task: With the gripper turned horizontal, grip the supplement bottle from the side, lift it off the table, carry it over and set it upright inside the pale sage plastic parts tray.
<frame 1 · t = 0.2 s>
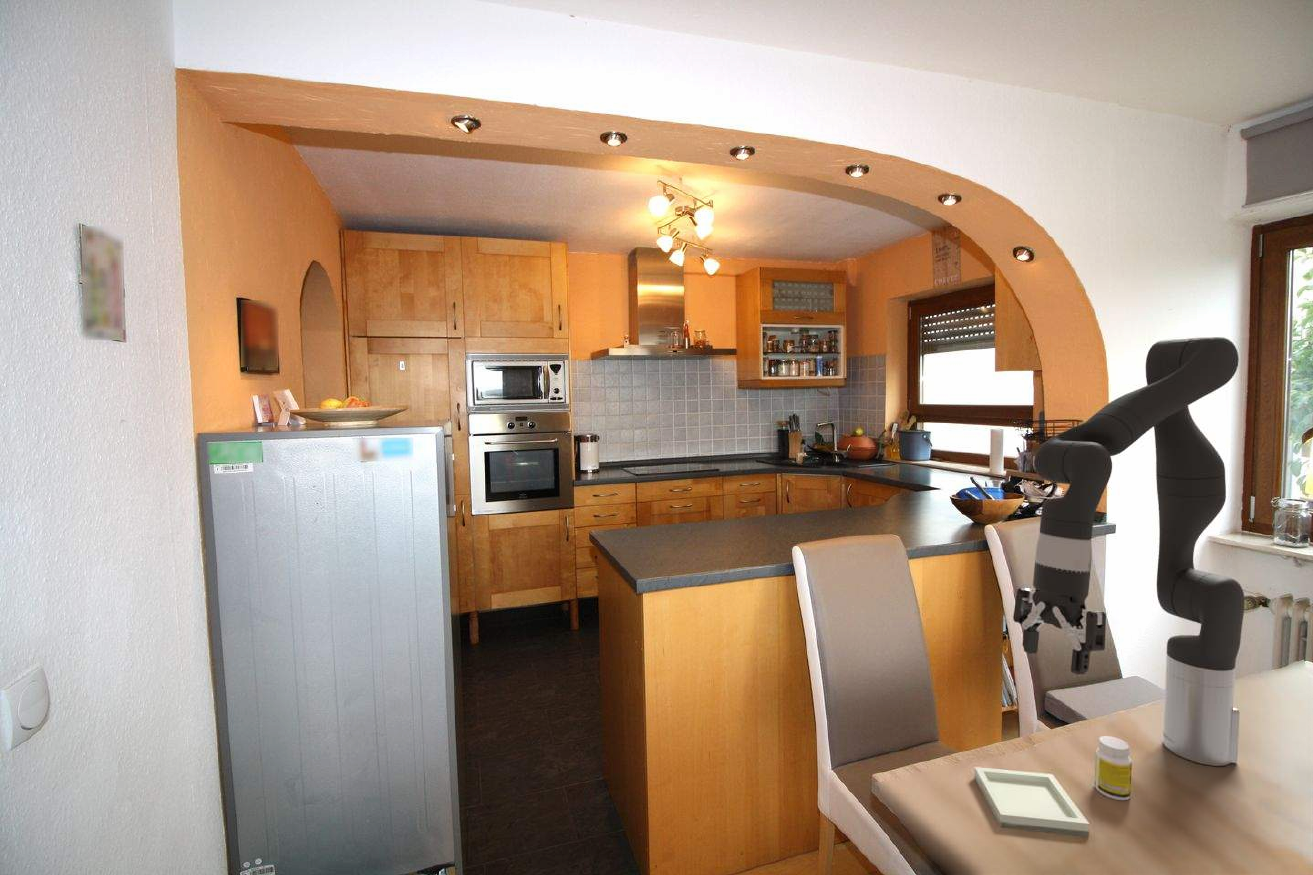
hand: (1053, 662, 98), 22 cm above the table, tool pointing down, fingers open, 8 cm apart
parts tray: (1027, 805, 96), on the table
supplement bottle: (1112, 792, 99), on the table
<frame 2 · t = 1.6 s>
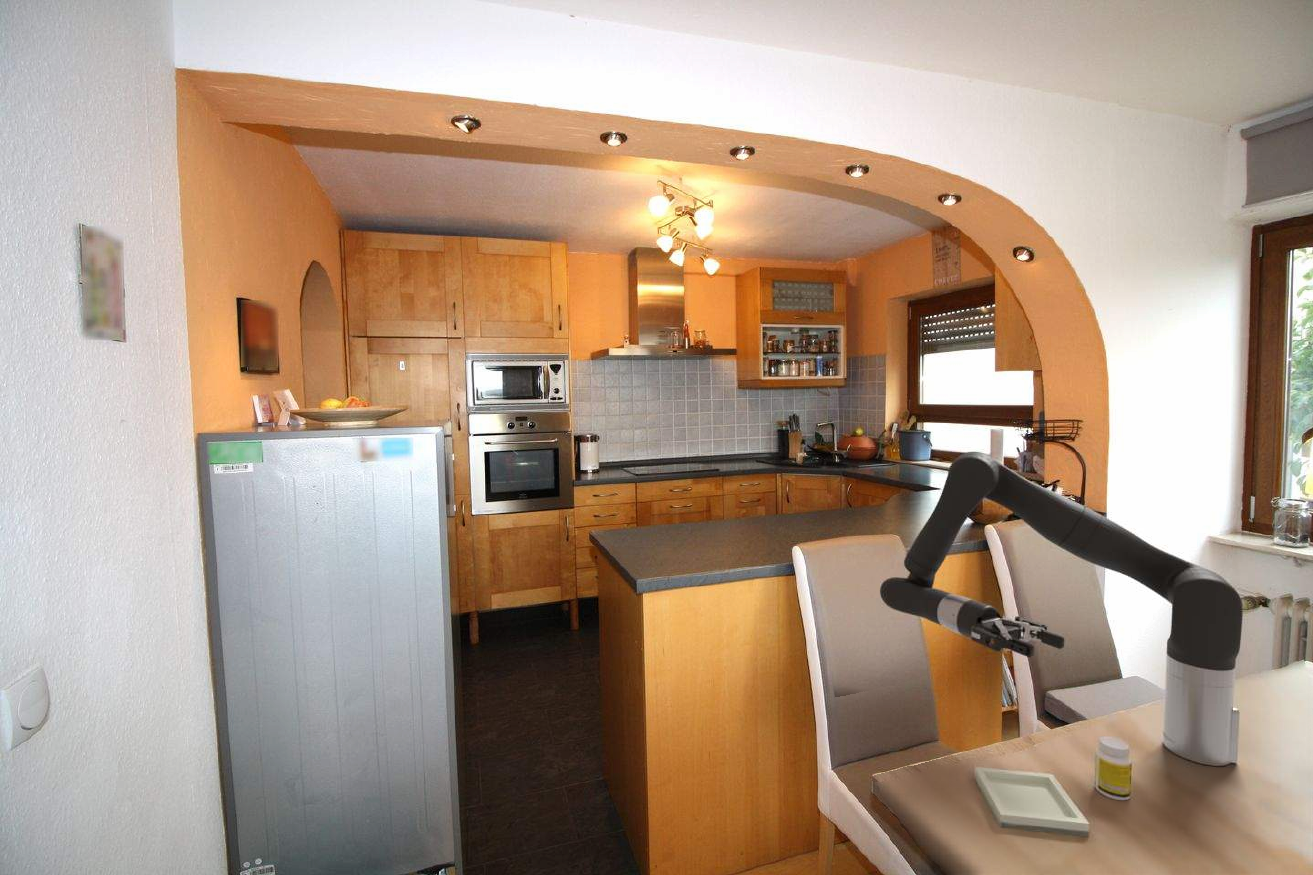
hand: (1048, 647, 108), 20 cm above the table, tool horizontal, fingers open, 8 cm apart
nothing on the table moved.
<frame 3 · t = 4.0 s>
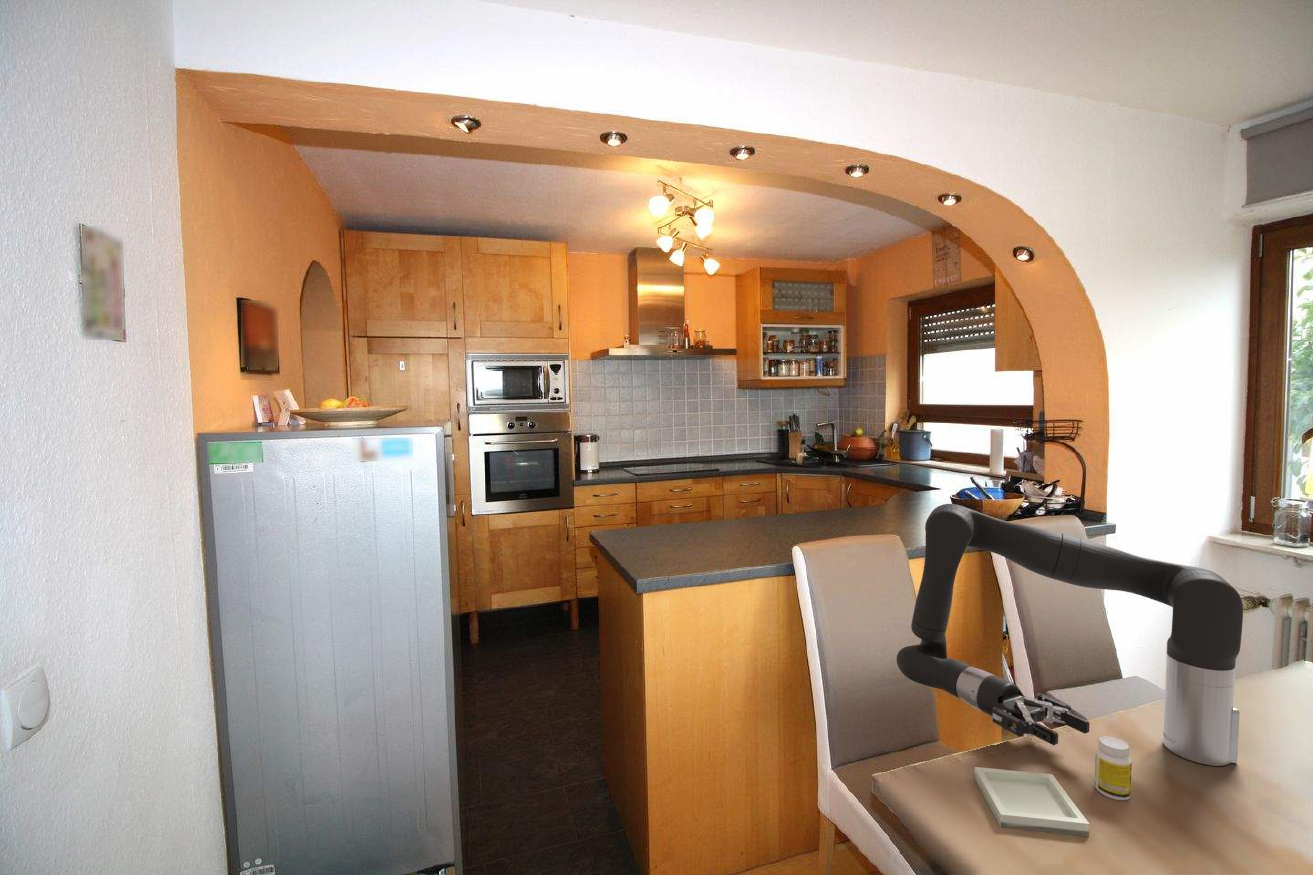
hand: (1072, 733, 105), 7 cm above the table, tool horizontal, fingers open, 8 cm apart
nothing on the table moved.
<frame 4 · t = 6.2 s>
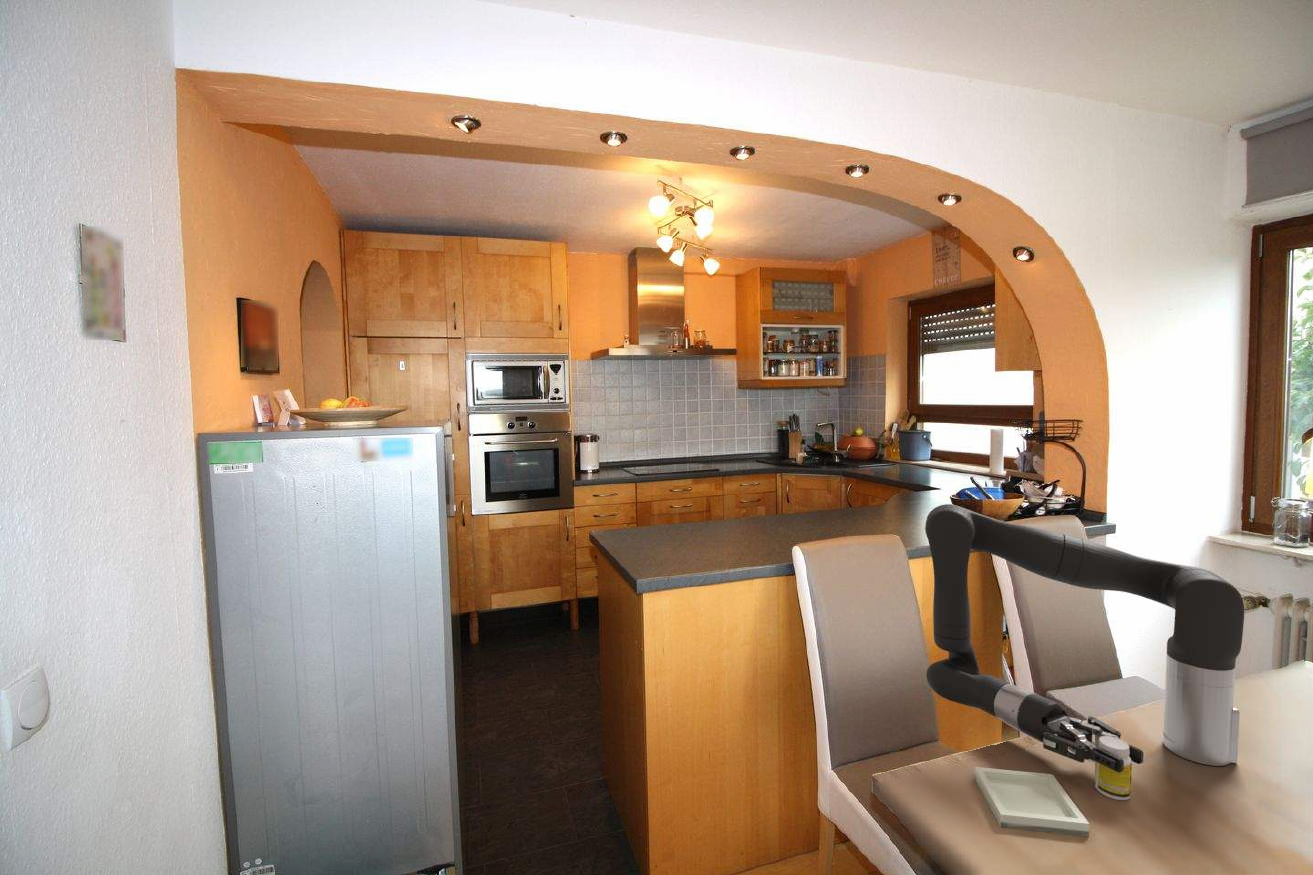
hand: (1131, 761, 96), 7 cm above the table, tool horizontal, fingers closed on supplement bottle, 4 cm apart
supplement bottle: (1112, 792, 99), on the table, touching gripper
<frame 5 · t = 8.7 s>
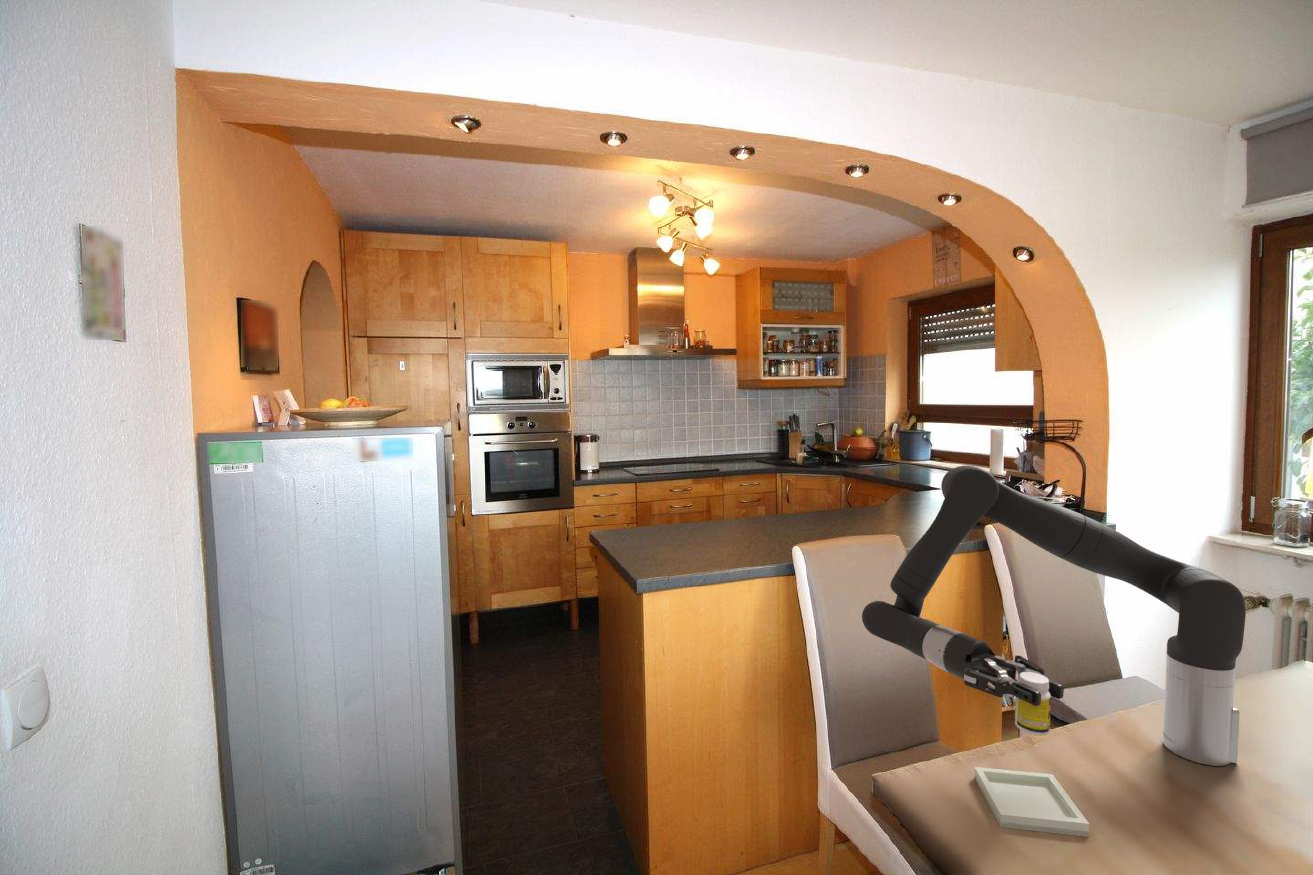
hand: (1050, 696, 93), 19 cm above the table, tool horizontal, fingers closed on supplement bottle, 4 cm apart
supplement bottle: (1031, 729, 96), point 12 cm above the table, touching gripper
when the fingers open (8 cm above the table, at t = 11.2 s): supplement bottle drops 1 cm, resting on parts tray.
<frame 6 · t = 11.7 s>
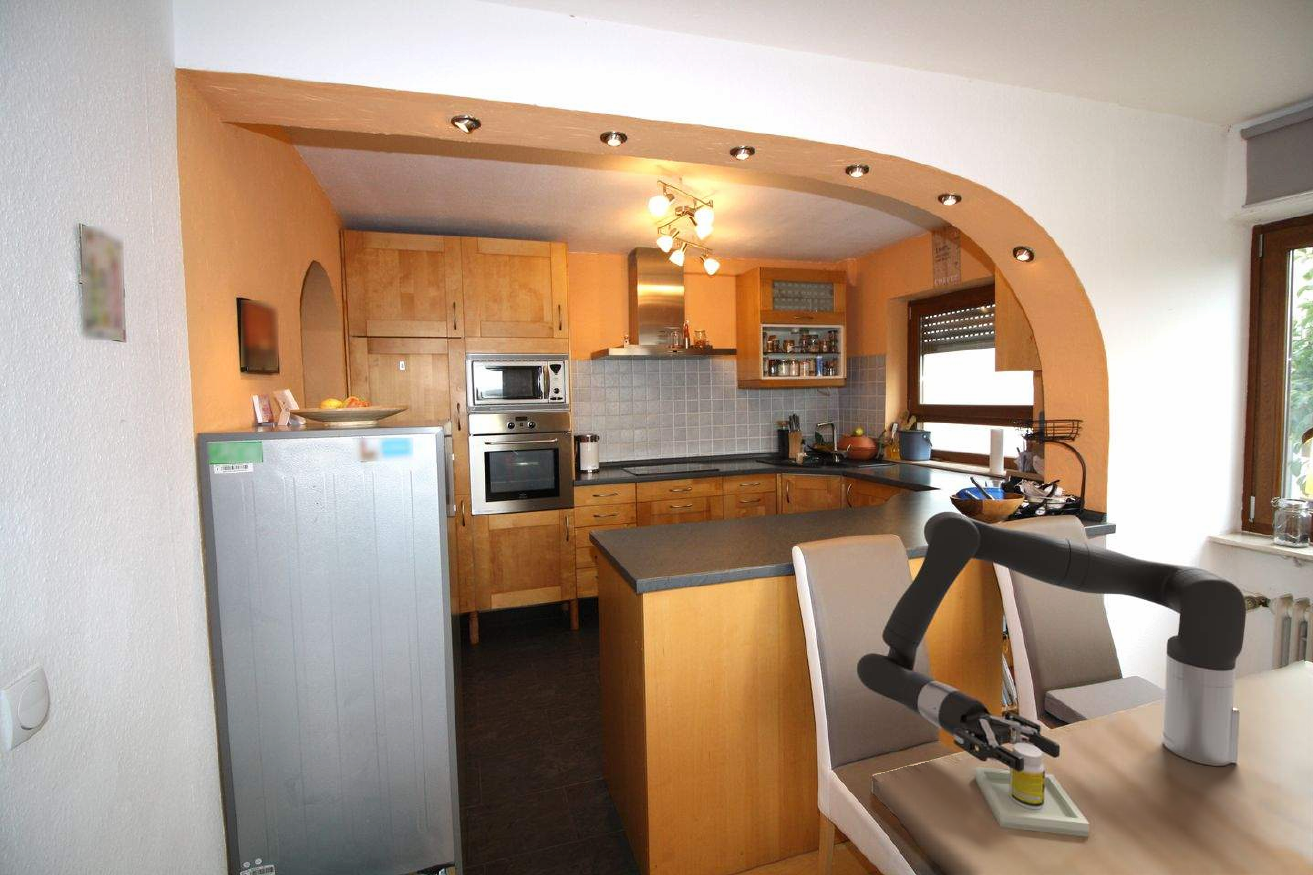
hand: (1040, 758, 94), 9 cm above the table, tool horizontal, fingers open, 8 cm apart
supplement bottle: (1026, 801, 96), point 1 cm above the table, touching parts tray
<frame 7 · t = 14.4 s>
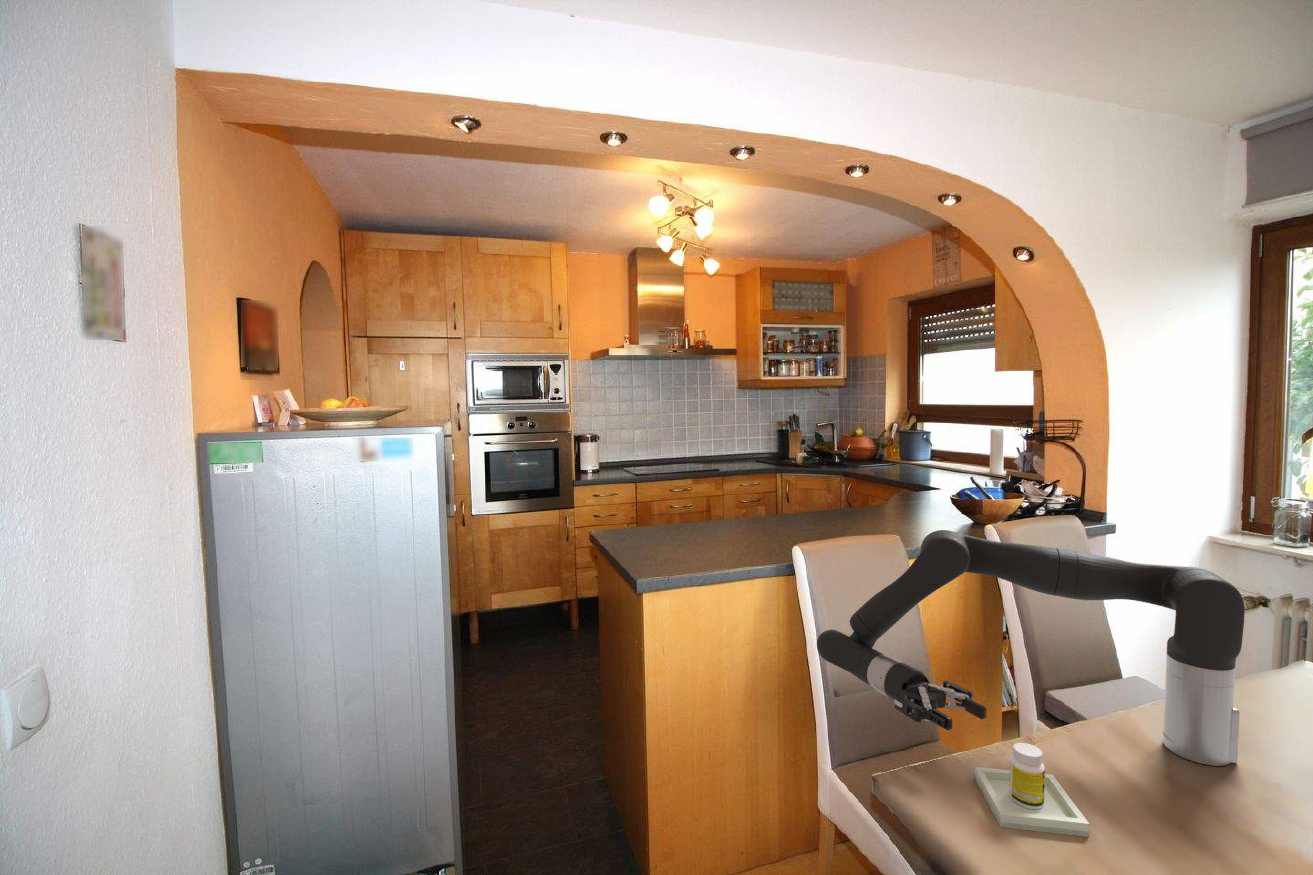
hand: (968, 719, 105), 9 cm above the table, tool horizontal, fingers open, 8 cm apart
nothing on the table moved.
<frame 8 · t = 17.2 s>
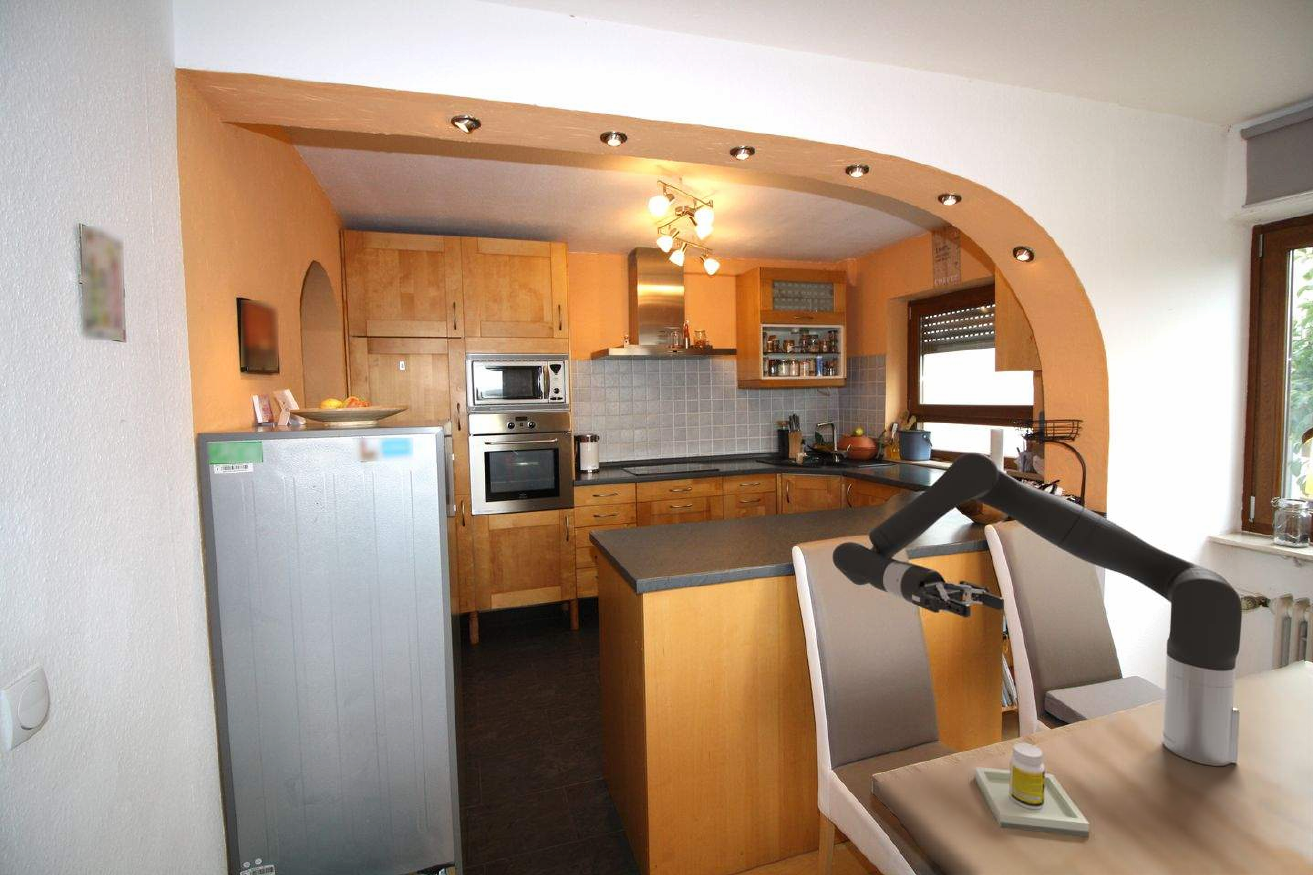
hand: (986, 608, 106), 28 cm above the table, tool horizontal, fingers open, 8 cm apart
nothing on the table moved.
at the end: supplement bottle inside the target area on the parts tray (0.2 cm from its centre), point 0.6 cm above the parts tray's base; supplement bottle tilted 0°; the gripper is holding nothing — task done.
